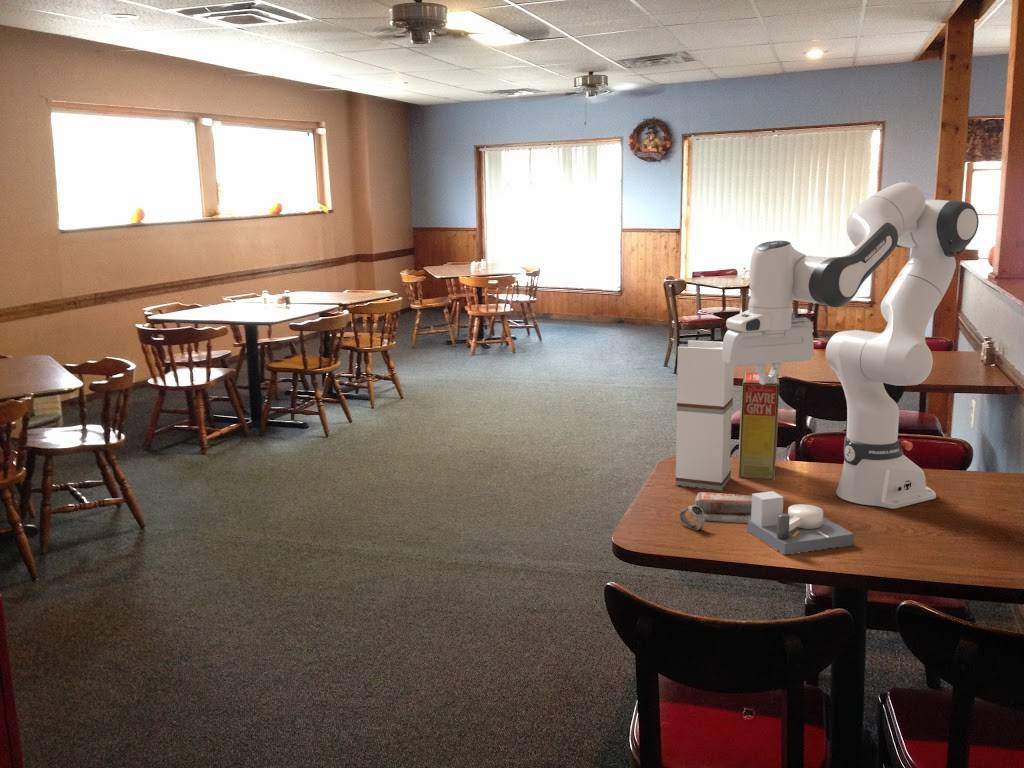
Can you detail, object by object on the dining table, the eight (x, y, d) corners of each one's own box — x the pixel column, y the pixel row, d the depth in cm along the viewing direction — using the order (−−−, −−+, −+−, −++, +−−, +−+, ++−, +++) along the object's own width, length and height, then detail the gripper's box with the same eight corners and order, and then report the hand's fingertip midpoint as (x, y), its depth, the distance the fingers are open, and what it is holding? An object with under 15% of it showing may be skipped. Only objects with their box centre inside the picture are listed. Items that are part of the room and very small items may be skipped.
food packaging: (775, 480, 222) (779, 383, 217) (737, 477, 225) (740, 381, 219) (775, 464, 235) (779, 372, 229) (738, 462, 237) (741, 371, 232)
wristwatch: (697, 533, 189) (697, 511, 188) (676, 525, 194) (676, 503, 193) (708, 529, 191) (709, 507, 190) (687, 521, 196) (687, 500, 195)
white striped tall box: (730, 477, 225) (734, 342, 217) (721, 490, 215) (725, 349, 208) (686, 472, 230) (688, 340, 222) (675, 485, 220) (677, 347, 213)
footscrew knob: (797, 514, 191) (797, 494, 190) (828, 521, 186) (829, 501, 185) (763, 533, 180) (764, 513, 179) (796, 542, 176) (797, 521, 175)
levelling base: (812, 521, 194) (814, 485, 192) (853, 545, 180) (855, 506, 179) (747, 530, 189) (748, 493, 188) (784, 555, 176) (786, 515, 174)
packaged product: (694, 501, 196) (695, 487, 205) (694, 522, 197) (694, 506, 206) (778, 505, 192) (775, 490, 201) (778, 526, 193) (774, 511, 202)
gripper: (804, 314, 191) (801, 377, 194) (719, 320, 186) (717, 384, 189) (821, 318, 185) (818, 382, 188) (734, 324, 180) (732, 390, 183)
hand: (767, 383), depth 188 cm, fingers closed
